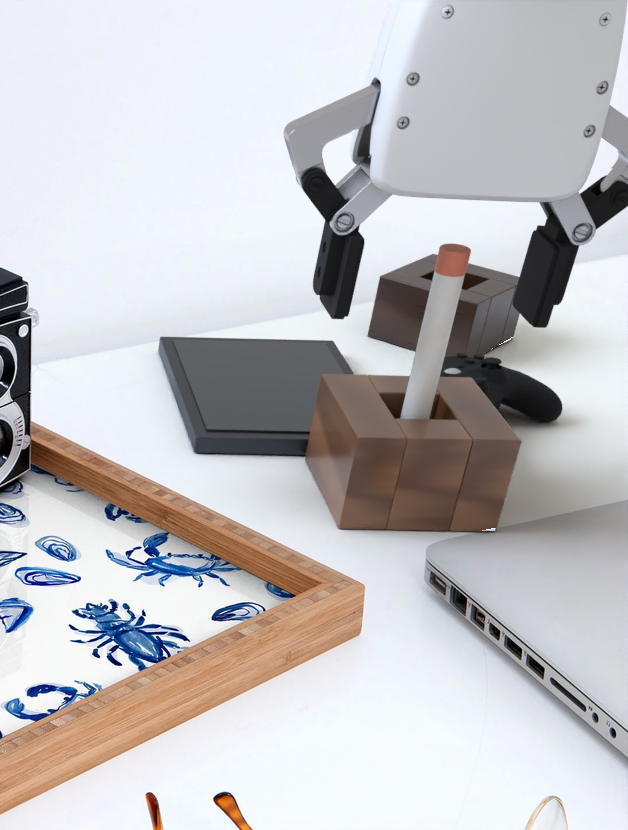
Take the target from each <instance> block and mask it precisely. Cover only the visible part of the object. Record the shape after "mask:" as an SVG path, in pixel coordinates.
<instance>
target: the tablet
mask: <svg viewBox="0 0 628 830" xmlns="http://www.w3.org/2000/svg"><path fill="white" fill-rule="evenodd" d="M158 341H159V342H158V349H157V350H158V351H157V352H158V354H159V357H160V359H161V363H162V365H163V368H164V371H165V374H166V376H167V380H168V382H169V385H170V387H171V388H170V389H171V391H172V394H173V396H174V399H175V402H176V404H177V408H178V410H179V413H180V416H181V419H182V421H183V424H184V427H185V430H186V433H187V436H188V438H189V442H190V444H191V447H192V450H193V452H194V453H195V454H231V455H232V454H234V455H272V456H273V455H274V456H275V455H277V456H278V455H279V456H281V455H282V456H306V451H307V445H308V440H309V435H310V430H311V425H312V420H313V415H314V410H315V405H316V400H317V395H318V390H319V384H320V379H321V374H355V373H354V372H353V370H352V369H351V367H350V365H349V364H348V362H347V361H346V359H345V357H344V356H343V354H342V352H341V351H340V349H339V348H338V346H337V344H336V343H335V341H334V340H327V339H326V340H325V339H324V340H323V339H321V340H319V339H283V338H281V339H277V338H241V337H239V338H238V337H197V336H196V337H194V336H189V337H188V336H160V337H159V340H158Z"/></svg>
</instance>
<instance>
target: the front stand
mask: <svg viewBox="0 0 628 830" xmlns="http://www.w3.org/2000/svg"><path fill="white" fill-rule="evenodd" d="M409 378H410V375H391V374H390V375H384V374H376V375H375V374H360V373H359V374H355V373H354V374H321V379H320V384H319V390H318V395H317V400H316V405H315V410H314V415H313V420H312V425H311V430H310V435H309V440H308V445H307V451H306V455H304V461H305V464H306V465H307V467H308V469H309V471H310V474H311V476H312V477H313V479H314V482H315V483H316V485H317V487H318V489H319V491H320V494H321V496H322V497H323V500H324V503H325V504H326V506H327V508H328V510H329V512H330V514H331V516H332V518H333V520H334V522H335V524H336V526H337V528H338V529H340V530H342V529H345V530H346V529H347V530H394V531H395V530H396V531H397V530H398V531H438V532H439V531H440V532H444V531H445V532H447V531H450V532H483V531H482V530H486V529H491V528H498V526H499V521H500V518H501V515H502V511H503V508H504V504H505V501H506V497H507V494H508V490H509V488H510V487H509V486H510V484H511V481H512V477H513V473H514V470H515V467H516V463H517V460H518V455H519V452H520V448H521V446H522V440H521V438H520V437H519V436H518V435H517V434H516V432H515V430H514V429H513V428H512V427H511V425H510V424H509V423H508V422H507V421H506V420H505V418H504V417H503V416H502V414H501V413H500V411H499V410H497V409H496V408H495V407H494V405H493V404H492V403H491V402H490V400H489V399H488V398H487V397H486V395H485V394H484V393H483V391H482V390H481V389H480V388H479V386H478V385H477V384H476V383H475V381H474V380H473V379H472V378H471V377H439V381H438V385H437V389H436V394H435V398H434V402H433V406H432V410H431V414H430V418H429V419H400V416H401V412H402V408H403V403H404V399H405V395H406V391H407V386H408V382H409Z"/></svg>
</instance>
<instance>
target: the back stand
mask: <svg viewBox="0 0 628 830" xmlns="http://www.w3.org/2000/svg"><path fill="white" fill-rule="evenodd" d="M437 256H438V254H436V253H431V254H429V255H427V256H424V257H422V258H420V259H416V260H415V261H413V262H409V263H408V264H405V265H403V266H400V267H398V268H396V269H394V270H391V271H388V272H386V273H384V274H382V275H380V276H379V279H378V284H377V289H376V293H375V299H374V303H373V307H372V311H371V316H370V321H369V326H368V331H367V337H369V338H373V339H376V340H379V341H382V342H386V343H389V344H392V345H394V346H398V347H401V348H405V349H407V350H408V349H409V350H411V351H414V352H416V348H417V344H418V339H419V335H420V331H421V327H422V322H423V318H424V314H425V310H426V305H427V301H428V297H429V292H430V288H431V284H432V280H433V275H434V271H435V270H434V269H435V265H436V261H437ZM519 277H520V276H518V275H514V274H510V273H506V272H503V271H499V270H495V269H492V268H488V267H484V266H480V265H477V264H473V263H470V262H468V266H467V270H466V273H465V276H464V280H463V284H462V288H461V292H460V296H459V300H458V304H457V308H456V312H455V317H454V321H453V325H452V329H451V333H450V337H449V341H448V345H447V349H446V353H445V356H456V355H457V353H464V354H467V355H468V357H472V358H473V356H474V355H475V354H479V355H482V354H483V355H484V353H485V354H487V353H489V352H490V351H489V350H491V349H492V348H495V347H496V346H498V345H499V344H501V343H503V342H504V341H506V340H508V339H510V338H511V337H513V336H514V337H515V333H516V329H517V325H518V322H519V318H520V316H521V314H520V313H519V312H518V311H517V310H516V309H515V308H514V307H513V298H514V294H515V291H516V288H517V284H518V281H519ZM514 337H513V338H514ZM498 347H499V346H498ZM496 348H497V347H496ZM496 348H495V349H496ZM488 351H489V352H488ZM491 351H492V350H491ZM486 352H487V353H486Z"/></svg>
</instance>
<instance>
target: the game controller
mask: <svg viewBox="0 0 628 830" xmlns="http://www.w3.org/2000/svg"><path fill="white" fill-rule="evenodd" d="M501 364H502V360H501V359H500V358H498V357H494V356H493V357H485V355H484V354H483V355H479V354H475V355H474V356H473V358H472V357H468V355H467V354H464V353H457V355H456V356H445V357H444V361H443V365H442V369H441V373H440V377H471V378H472V379H473V380H474V381H475V383H476V384H477V385H478V386H479V388H480V389H481V390H482V391H483V393H484V394H485V395H486V397H487V398H488V399H489V400H490V402H491V403H492V404H493V405H494V407H495V408H496V409H497V410H498V411H499V410H500V409H501V405H503V406H505V407H508V408H510V409H512V410H515V411H516V412H519V413H521V414H522V415H523V416H525V417H527V418H529V419H531V420H533V421H537V422H539V423H551V422H554V421H556V420H558V419H559V417H560V416H561V415H562V412H563V403H562V400H561V398H560V397H559V395H558V394H557V392H555V391H554V390H553V389H552V388H551V387H550V386H548V385H546V384H545V383H543V382H542V381H540V380H538V379H536V378H534V377H532V376H530V375H528V374H526V373H524V372H521V371H519V370H516V369H512V368H510V367H506V366H504V365H501Z"/></svg>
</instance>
